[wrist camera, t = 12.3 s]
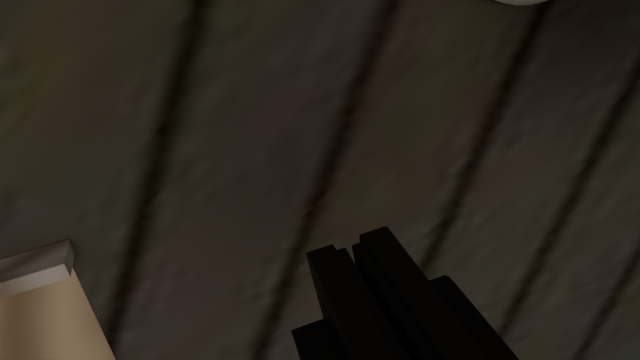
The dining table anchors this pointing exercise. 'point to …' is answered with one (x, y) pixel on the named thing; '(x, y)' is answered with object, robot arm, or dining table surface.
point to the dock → (47, 309)
